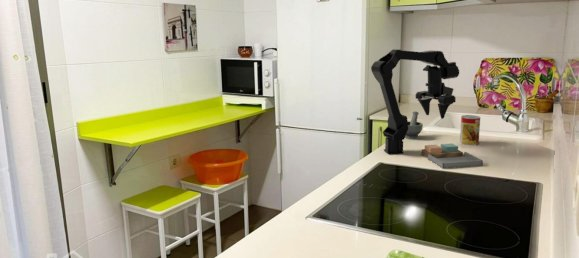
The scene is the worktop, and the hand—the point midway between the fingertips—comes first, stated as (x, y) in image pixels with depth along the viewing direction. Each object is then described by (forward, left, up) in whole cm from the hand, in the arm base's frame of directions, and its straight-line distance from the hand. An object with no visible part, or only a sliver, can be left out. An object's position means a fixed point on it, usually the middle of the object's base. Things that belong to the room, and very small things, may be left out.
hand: (434, 116), depth 193 cm
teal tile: (+1, -12, -12) cm, 17 cm away
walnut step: (-3, -12, -13) cm, 18 cm away
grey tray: (-3, -23, -13) cm, 27 cm away
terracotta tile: (-6, -12, -12) cm, 18 cm away
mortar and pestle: (-2, +19, -14) cm, 23 cm away
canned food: (+18, +3, -14) cm, 23 cm away
